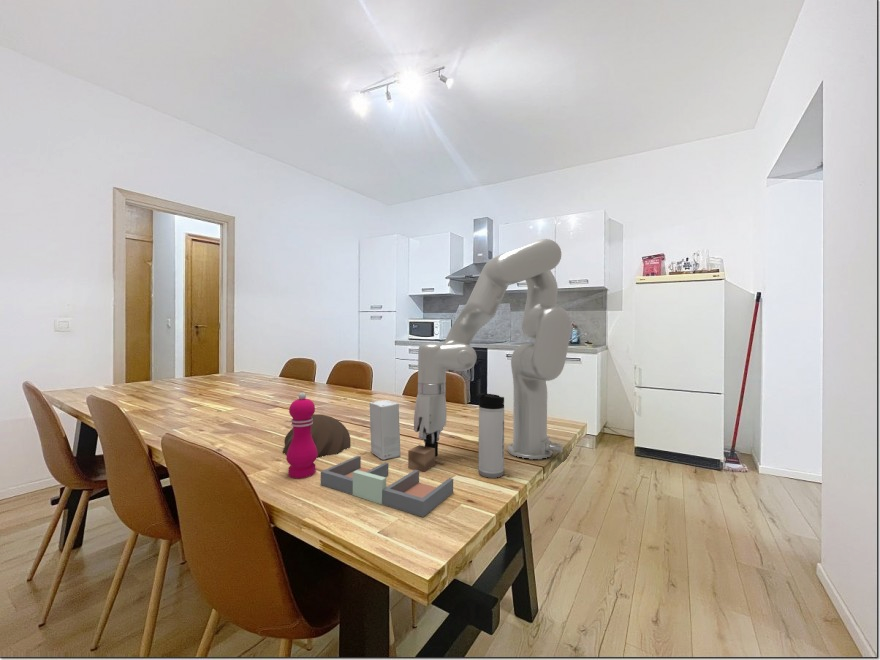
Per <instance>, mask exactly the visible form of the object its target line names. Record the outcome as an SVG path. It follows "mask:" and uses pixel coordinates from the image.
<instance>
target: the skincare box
mask: <svg viewBox="0 0 880 660" xmlns="http://www.w3.org/2000/svg"><path fill="white" fill-rule="evenodd" d="M369 422H370V424H369V425H370V427H369V429H370V453H371V454H373V455H375V456H376V457H377V458H379V459H381V460H383V461H384V460H389V459H394V458H395V459H396V458H400V457H401V435H400V434H401V432H400V404H399V403H398V402H394V401H392V400H391V401H390V400H388V399H384V400H377V401H372V402H371V401H370V402H369Z"/></svg>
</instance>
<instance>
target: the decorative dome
mask: <svg viewBox="0 0 880 660" xmlns="http://www.w3.org/2000/svg"><path fill="white" fill-rule="evenodd" d="M312 418H313V421H312V422H313V424H312V425H311V436H312V439H313V441H314V443H315V445H316V448H317V454H318V456H317V458H316V459H319V458H318V457H320V458H322V456H323V457H326V455H327V456H334V455H335V456H336V455H339V454H340V453H341V452H342V451H344V449H345V450H348V449H350V448H351V435H350V433H349V431H348V429H347V428H346V426H345V425H344V424H343V423H342V422H341V421H339V420H338V419H337V418H335V417H332V416H329V415H325V414H313V415H312ZM293 432H294V430H293V427H292V428H291V429H290V430H289V431H288V432H287V434H286V435H285V437H284V447H283V450H282V454H284V453H285V454H284V455H287V451H288V448H289V446H290V444H291V442H292V439H293ZM347 448H348V449H347Z"/></svg>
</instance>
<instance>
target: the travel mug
mask: <svg viewBox="0 0 880 660" xmlns="http://www.w3.org/2000/svg"><path fill="white" fill-rule="evenodd" d="M477 396H478V469H477V470H478V474H479V475H480V476H481V477H484V478H487V477H488V479H497V477H498V478H501V477H503V476H504V474H505V397H504V396H500V395H499V394H493V393H484V392H483V393H481V392H480V393H478V395H477ZM502 475H503V476H502ZM500 476H501V477H500Z"/></svg>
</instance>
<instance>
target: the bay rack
mask: <svg viewBox="0 0 880 660" xmlns="http://www.w3.org/2000/svg"><path fill="white" fill-rule="evenodd" d="M361 457H362V456H360V455H356V456H353V457H351V458H349V459H347V460H344V461H342V462H339V463H338V464H336V465H333V466H331V467H329V468H326V469H323V470H321V471H320V486H323V487H327V488H330V489H332V490H336V491H339V492H342V493H346V494H349V495H352V496H354V497H358V498H360V499H364V500H367V501H370V502H372V503H376V504H380V505H383V506H386V507H389V508H392V509H395V510H399V511H403V512H405V513H408V514H411V515H415V516H419V517H421V518H424V517H425V516H427V515H428V514H429V513H431V512H432V510H434V509H435V508H436V507H438V506H439V505H441V503H443V502H444V501H445V500H446V499H448V498H449V496H451V495H452V494H453V493H454V478H452V477H449V478H447V479H446V480H445V481H443V482H442V483H440V484H439V485H438V486H434V485H430V484H427V483H422V482H420V471H419V470H415V469H413V471H411V472H409V473H407V474H406V475H404V476H402V477H401V478H400V479H397V480H395V482H393V483H391V484H389V485H388V486H387V477H388V476H389V462H382V463H381V464H378V465H377V466H375V467H372V469H368V468H365V467H361V465H362V463H361V459H362V458H361Z"/></svg>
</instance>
